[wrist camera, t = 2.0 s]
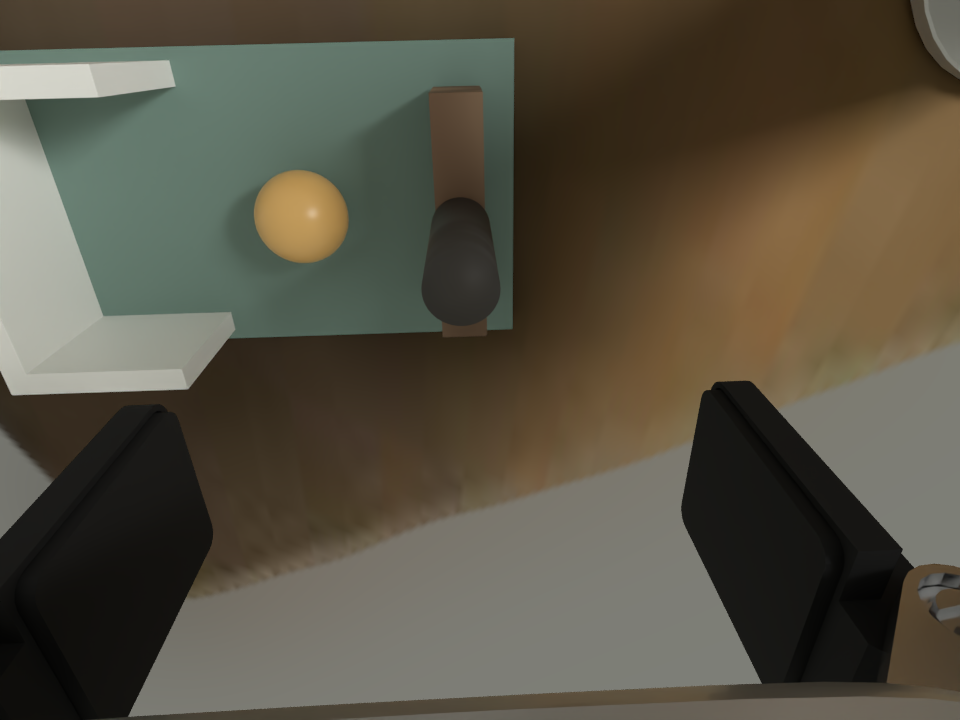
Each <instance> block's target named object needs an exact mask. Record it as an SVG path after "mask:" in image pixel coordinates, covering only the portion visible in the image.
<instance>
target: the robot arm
mask: <svg viewBox="0 0 960 720" xmlns="http://www.w3.org/2000/svg"><path fill="white" fill-rule="evenodd" d="M910 1H911V6H912V11H913V16H914V21H915V26H916V28H917V30H918V32H919V35H920V37H921V39H922V41H923V43H924V45H925V48H926V49H927V51H928V52H929V53H930V54H931V55H932V57H933V58H934V59H935V60H936V61H937V63H938V64H939V65H940V66H941V67H942V68H943V69H945V70H946V71H948V72H949V73H951V74H952V75H954V76H955V77H957V78H958V79H960V0H910ZM681 511H682V518H683V522H684V525H685V527H686V529H687V531H688V533H689V535H690V537H691V539H692V541H693V543H694V545H695V547H696V550H697V552H698V554H699V556H700V558H701V560H702V562H703V564H704V566H705V568H706V570H707V572H708V574H709V576H710V578H711V580H712V582H713V584H714V586H715V588H716V590H717V593H718V595H719V597H720V599H721V601H722V603H723V605H724V607H725V609H726V611H727V613H728V615H729V617H730V619H731V621H732V623H733V625H734V627H735V629H736V631H737V633H738V635H739V637H740V640H741V641H742V644H743V645H744V648H745V650H746V652H747V654H748V656H749V658H750V660H751V662H752V664H753V666H754V668H755V670H756V672H757V674H758V676H759V678H760V680H761V682H762V684H738V685H707V686H689V687H666V688H646V689H625V690H604V691H584V692H564V693H543V694H523V695H506V696H487V697H467V698H448V699H429V700H412V701H394V702H376V703H357V704H339V705H321V706H303V707H287V708H270V709H253V710H237V711H221V712H203V713H186V714H170V715H153V716H137V717H128V715H129V713H130V711H131V709H132V707H133V705H134V703H135V701H136V699H137V697H138V695H139V693H140V691H141V689H142V687H143V685H144V682H145V680H146V678H147V676H148V674H149V672H150V670H151V668H152V666H153V664H154V662H155V660H156V658H157V656H158V654H159V652H160V649H161V648H162V646H163V644H164V641H165V639H166V637H167V635H168V633H169V631H170V629H171V627H172V625H173V623H174V621H175V619H176V617H177V615H178V612H179V611H180V609H181V606H182V604H183V602H184V600H185V598H186V596H187V594H188V592H189V590H190V588H191V586H192V584H193V582H194V580H195V578H196V576H197V574H198V572H199V570H200V568H201V566H202V563H203V561H204V559H205V557H206V555H207V553H208V551H209V549H210V547H211V544H212V539H213V528H212V524H211V520H210V517H209V514H208V511H207V508H206V505H205V502H204V499H203V495H202V492H201V489H200V486H199V483H198V480H197V477H196V474H195V470H194V467H193V464H192V461H191V458H190V455H189V452H188V449H187V445H186V442H185V439H184V436H183V433H182V430H181V427H180V424H179V421H178V418H177V416H176V415H175V414H174V413H172V412H167V410H166V409H165V407H164V406H162V405H160V404H157V405H132V406H124V407H123V408H121V409H120V410H119V411H118V412H117V413H116V414H115V415H114V416H113V418H112V419H111V420H110V421H109V422H108V423H107V424H106V425H105V426H104V427H103V428H102V429H101V431H100V432H99V433H98V434H97V435H96V436H95V437H94V438H93V439H92V440H91V441H90V442H89V443H88V445H87V446H86V447H85V448H84V449H83V450H82V451H81V452H80V453H79V454H78V455H77V456H76V458H75V459H74V460H73V461H72V462H71V463H70V464H69V465H68V466H67V467H66V468H65V469H64V470H63V472H62V473H61V474H60V475H59V476H58V477H57V478H56V479H55V480H54V481H53V482H52V483H51V485H50V486H49V487H48V488H47V489H46V490H45V491H44V492H43V493H42V494H41V496H40V497H38V499H37V500H36V501H35V502H34V503H33V504H32V505H31V506H30V507H29V508H28V509H27V510H26V512H25V513H24V514H23V515H22V516H21V517H20V518H19V519H18V520H17V521H16V522H15V524H14V525H13V526H12V527H11V528H10V529H9V530H8V531H7V532H6V533H5V534H4V535H3V536H2V538H1V539H0V720H960V568H958V567H955V566H949V565H940V564H929V565H921V566H918V567H916V568H914V567H913V566H912V565H911V564H910V563H909V562H908V560H907V559H906V558H905V557H904V556H903V555H902V554H901V552H902V550H903V549H902V548H901V547H900V546H899V545H898V543H897V542H896V541H895V540H894V539H893V538H892V537H891V536H890V535H889V533H888V532H887V531H886V530H885V529H884V528H883V527H882V526H881V525H880V524H879V522H878V521H877V520H876V519H875V518H874V517H873V516H872V515H871V514H870V513H869V511H868V510H867V509H866V508H865V507H864V506H863V505H862V504H861V503H860V501H859V500H858V499H857V498H856V497H855V496H854V495H853V494H852V493H851V492H850V490H849V489H848V488H847V487H846V486H845V485H844V484H843V483H842V481H841V480H840V479H839V478H838V477H837V476H836V475H835V474H834V473H833V471H832V470H831V469H830V468H829V467H828V466H827V465H826V464H825V463H824V462H823V461H822V459H821V458H820V457H819V456H818V455H817V454H816V453H815V452H814V450H813V449H812V448H811V447H810V446H809V445H808V444H807V443H806V442H805V440H804V439H803V438H801V436H800V435H799V434H798V433H797V432H796V430H795V429H794V428H793V427H792V426H791V425H790V424H789V423H788V422H787V420H786V419H785V418H784V417H783V416H782V415H781V414H780V413H779V412H778V410H777V409H776V408H775V407H774V406H773V405H772V404H771V403H770V402H769V400H768V399H767V398H766V397H765V396H764V395H763V394H762V393H761V392H760V390H759V389H758V388H757V387H756V386H755V385H754V384H753V383H752V382H750V381H727V382H716V383H715V384H714V385H713V386H712V388H711V390H706V391H704V393H703V394H702V398H701V403H700V408H699V413H698V419H697V424H696V429H695V435H694V440H693V446H692V451H691V456H690V462H689V467H688V472H687V478H686V484H685V489H684V494H683V499H682V506H681Z"/></svg>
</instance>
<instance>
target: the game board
mask: <svg viewBox="0 0 960 720" xmlns="http://www.w3.org/2000/svg"><path fill="white" fill-rule="evenodd" d="M441 86H480V87H481V89H482V91H483V129H484V186H485V211H486V213H487V215H488V217H489V221H490V226H491V232H492V238H493V244H494V250H495V256H496V262H497V268H498V274H499V280H500V287H501V291H500V298H499V301H498V303H497V305H496V307H495V309H494V310H493V311H492V313H491V314H490V315H489V316H487V330H502V329H513V167H514V38H498V39H457V40H417V41H376V42H336V43H295V44H255V45H214V46H173V47H133V48H92V49H52V50H11V51H0V371H1V373H2V376H3V378H4V380H5V382H6V384H7V386H8V388H9V390H10V392H11V394H12V395H35V394H65V393H94V392H123V391H152V390H182V389H189V387H190V386H191V385H192V384H193V382H194V381H195V380H196V379H197V377H198V376H199V375H200V374H201V372H202V371H203V370H204V369H205V367H206V366H207V365H208V363H209V362H210V361H211V360H212V358H213V357H214V356H215V355H216V353H217V352H218V351H219V350H220V348H221V347H222V346H223V345H224V343H225V342H226V341H227V340H228V338H258V337H289V336H319V335H349V334H380V333H410V332H441V331H442V321H440V320H439V319H437V318H436V317H435V316H434V315H432V314H431V312H430V311H429V310H428V309H427V307H426V305H425V303H424V301H423V297H422V292H421V286H422V279H423V273H424V267H425V260H426V254H427V248H428V242H429V236H430V229H431V223H432V218H433V215H434V213H435V196H434V179H433V162H432V145H431V128H430V111H429V92H430V90H431V89H432V87H441ZM290 170H305V171H311V172H314V173H317V174H319V175H321V176H323V177H324V178H326V179H327V180H329V181H330V182H331V183H332V184H333V185H334V186H335V187H336V188H337V189H338V190H339V192H340V193H341V195H342V196H343V198H344V200H345V203H346V206H347V210H348V217H349V224H348V230H347V233H346V236H345V239H344V241H343V242H342V244H341V245H340V247H339V248H338V249H337V250H336V251H335V252H334V253H333V254H331V255H330V256H329V257H327V258H325V259H323V260H320V261H317V262H313V263H296V262H292V261H288V260H286V259H283V258H282V257H280V256H278V255H277V254H275V253H274V252H272V251H271V250H270V249H269V248H268V247H267V246H266V245H265V243H264V242H263V241H262V239H261V237H260V236H259V234H258V231H257V229H256V225H255V220H254V206H255V202H256V198H257V196H258V194H259V192H260V190H261V189H262V187H263V186H264V185H265V184H266V183H267V182H268V181H269V180H270V179H271V178H273V177H274V176H276V175H278V174H280V173H283V172H286V171H290Z"/></svg>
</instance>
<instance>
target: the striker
mask: <svg viewBox="0 0 960 720" xmlns="http://www.w3.org/2000/svg"><path fill="white" fill-rule="evenodd" d="M429 111H430V128H431V145H432V162H433V179H434V196H435V213H434V215H433V218H432V223H431V229H430V236H429V242H428V248H427V254H426V260H425V267H424V273H423V279H422V286H421V292H422V297H423V301H424V303H425V305H426V307H427V309H428V310H429V311H430V312H431V314H432V315H434V316H435V317H436V318H437V319H439V320H440V321H442V333H443V337H472V336H487V316H489V315H490V314H491V313H492V311H493V310H494V309H495V307H496V305H497V303H498V301H499V298H500V291H501V287H500V280H499V274H498V268H497V262H496V256H495V250H494V244H493V238H492V232H491V226H490V221H489V217H488V215H487V213H486V211H485V186H484V129H483V91H482V89H481V87H480V86H441V87H432V89H431V90H430V92H429Z"/></svg>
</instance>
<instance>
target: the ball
mask: <svg viewBox="0 0 960 720" xmlns="http://www.w3.org/2000/svg"><path fill="white" fill-rule="evenodd" d="M254 220H255V225H256V229H257V231H258V234H259V236H260V237H261V239H262V241H263V242H264V243H265V245H266V246H267V247H268V248H269V249H270V250H271V251H272V252H274V253H275V254H277V255H278V256H280V257H282V258H283V259H286V260H288V261H292V262H296V263H313V262H317V261H320V260H323V259H325V258H327V257H329V256H330V255H331V254H333V253H334V252H335V251H336V250H337V249H338V248H339V247H340V245H341V244H342V242H343V241H344V239H345V236H346V233H347V230H348V224H349V217H348V210H347V206H346V203H345V200H344V198H343V196H342V195H341V193H340V192H339V190H338V189H337V188H336V187H335V186H334V185H333V184H332V183H331V182H330V181H329V180H327V179H326V178H324V177H323V176H321V175H319V174H317V173H314V172H311V171H305V170H290V171H286V172H283V173H280V174H278V175H276V176H274V177H273V178H271V179H270V180H269V181H268V182H267V183H266V184H265V185H264V186H263V187H262V189H261V190H260V192H259V194H258V196H257V198H256V202H255V206H254Z"/></svg>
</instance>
